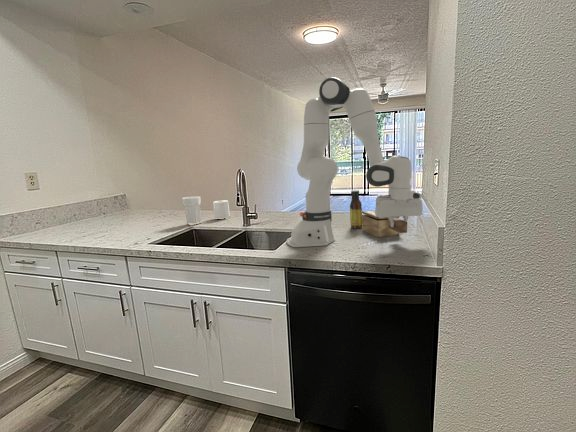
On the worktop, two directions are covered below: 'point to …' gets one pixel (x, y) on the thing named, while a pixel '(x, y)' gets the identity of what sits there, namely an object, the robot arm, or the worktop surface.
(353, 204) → the sauce bottle
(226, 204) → the white tapered cylinder
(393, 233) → the bread box
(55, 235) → the worktop surface
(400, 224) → the walnut batten
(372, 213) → the lid
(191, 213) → the cup
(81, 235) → the worktop surface
